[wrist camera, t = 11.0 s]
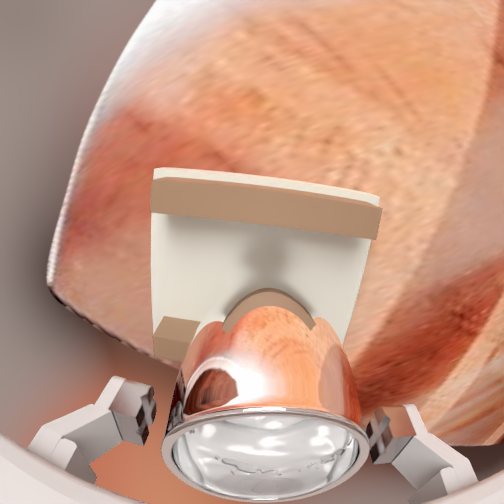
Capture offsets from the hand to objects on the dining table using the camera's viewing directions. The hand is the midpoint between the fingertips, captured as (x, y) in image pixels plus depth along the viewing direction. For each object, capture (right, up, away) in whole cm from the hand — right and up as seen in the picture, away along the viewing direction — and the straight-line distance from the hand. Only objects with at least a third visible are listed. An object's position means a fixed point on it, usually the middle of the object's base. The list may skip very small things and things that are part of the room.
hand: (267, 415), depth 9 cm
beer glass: (0, +4, +12) cm, 13 cm away
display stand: (0, +5, +15) cm, 15 cm away
